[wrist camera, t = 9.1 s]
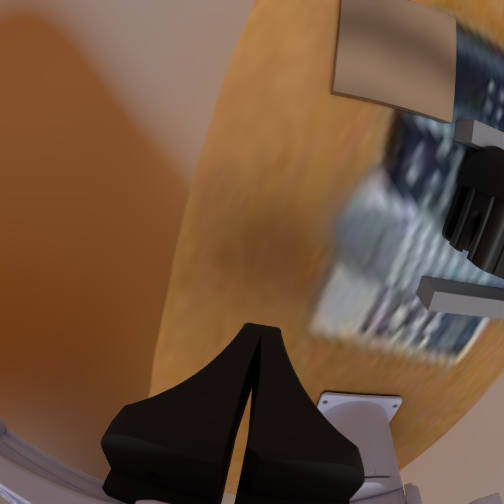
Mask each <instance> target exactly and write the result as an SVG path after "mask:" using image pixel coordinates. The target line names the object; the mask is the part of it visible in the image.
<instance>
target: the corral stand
mask: <svg viewBox="0 0 504 504" xmlns="http://www.w3.org/2000/svg"><path fill="white" fill-rule="evenodd" d="M454 141H455V142H458V143H461V144H463V145H466V146H469V147H472V148H474V149H477V150H480V149H482V148H484V147H486V146H497V147H500V148H502V149H503V150H504V133H503V132H501V131H499V130H496V129H494V128H492V127H490V126H487V125H485V124H483V123H480V122H478V121H476V120H460V121H456V129H455V137H454ZM417 295H418V297H419V298H420V300H421V301H422V303H423V304H424V306H425V307H426V309H427V310H428V311H435V312H443V313H452V314H462V315H471V316H481V317H491V318H501V319H504V289H499V288H493V287H487V286H481V285H475V284H469V283H463V282H457V281H451V280H444V279H438V278H432V277H426V276H423V277H422V280H421V283H420V286H419V289H418V292H417Z"/></svg>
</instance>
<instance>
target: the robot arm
mask: <svg viewBox="0 0 504 504" xmlns="http://www.w3.org/2000/svg"><path fill="white" fill-rule="evenodd" d="M251 389H252V396H251V408H250V420H249V432H248V439H247V445H246V450H245V455H244V460H243V465H242V470H241V475H240V480H239V484H238V489H237V494H236V499H235V503H234V504H422V502H421V497H420V492H419V489H418V487H417V486H415V485H412V483H408V484H406V485H404V487H405V493H406V495H405V496H404V490H403V486H402V481H401V477H400V475H399V469H398V464H397V459H396V454H395V449H394V444H393V439H392V434H391V430H390V425H389V423H390V421H391V420H392V418H393V416H394V415H395V413H396V411H397V410H398V408H399V406H400V405H401V403H402V398H401V397H395V396H371V395H355V394H342V393H331V392H325V393H323V394H322V395H321V397H320V400H319V402H318V405H317V407H316V406H315V404H314V403H313V401H312V400H311V399H310V397H309V396H308V394H307V393H306V391H305V389H304V388H303V386H302V384H301V383H300V381H299V379H298V377H297V375H296V373H295V371H294V369H293V367H292V364H291V362H290V360H289V357H288V355H287V352H286V349H285V346H284V342H283V339H282V334H281V330H280V328H277V327H271V326H265V325H259V324H253V323H246V324H244V326H243V327H242V329H241V330H240V332H239V333H238V334H237V336H236V337H235V338H234V339H233V340H232V342H231V343H230V344H229V345H228V346H227V347H226V348H225V349H224V350H223V351H222V352H221V353H220V354H219V355H218V356H217V357H216V358H215V359H214V360H212V361H211V362H210V363H209V364H208V365H207V366H205V367H204V368H203V369H201V370H200V371H199V372H197V373H196V374H195V375H193V376H192V377H190V378H188V379H187V380H185V381H184V382H182V383H180V384H179V385H177V386H175V387H173V388H171V389H169V390H167V391H165V392H162V393H160V394H158V395H156V396H153V397H151V398H148V399H145V400H142V401H139V402H136V403H133V404H129V405H126V406H124V407H123V408H122V410H121V411H120V412H119V413H118V414H117V416H116V417H115V418H114V419H113V421H112V422H111V424H110V425H109V427H108V429H107V430H106V432H105V434H104V436H103V437H102V440H101V446H102V449H103V452H104V454H105V456H106V458H107V460H108V463H109V465H110V467H111V471H110V472H109V474H108V476H107V478H106V480H105V482H103V481H101V480H98V479H96V478H94V477H91V476H89V475H87V474H85V473H83V472H81V471H79V470H77V469H75V468H73V467H71V466H69V465H67V464H65V463H63V462H61V461H59V460H57V459H56V458H54V457H52V456H50V455H48V454H47V453H45V452H43V451H42V450H40V449H38V448H36V447H35V446H33V445H32V444H30V443H28V442H27V441H25V440H24V439H22V438H21V437H19V436H17V435H16V434H14V433H13V432H12V431H10V430H8V429H7V427H6V425H5V423H4V422H3V420H2V419H1V417H0V495H1V496H2V497H4V498H5V499H6V500H7V501H9V502H10V503H11V504H221V502H222V498H223V493H224V489H225V485H226V480H227V476H228V471H229V467H230V462H231V458H232V453H233V449H234V444H235V439H236V436H237V432H238V429H239V426H240V423H241V420H242V417H243V414H244V410H245V407H246V404H247V401H248V398H249V395H250V392H251ZM324 400H327V401H324ZM405 498H406V502H405ZM469 504H502V501H501V498H500V495H499V493H495V494H493V495H489V496H486V497H483V498H480V499H477V500H475V501H473V502H471V503H469Z"/></svg>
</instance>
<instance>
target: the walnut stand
mask: <svg viewBox="0 0 504 504" xmlns="http://www.w3.org/2000/svg"><path fill="white" fill-rule="evenodd" d="M455 76H456V18H454V17H451V16H449V15H446V14H444V13H442V12H439V11H436V10H434V9H431V8H429V7H426V6H423V5H420V4H417V3H415V2H412V1H409V0H340V9H339V21H338V33H337V44H336V54H335V64H334V73H333V82H332V91H331V94H334V95H339V96H344V97H349V98H354V99H359V100H363V101H367V102H372V103H376V104H380V105H384V106H388V107H392V108H395V109H399V110H403V111H406V112H410V113H413V114H417V115H420V116H423V117H426V118H429V119H433V120H436V121H439V122H442V123H452V115H453V105H454V93H455Z"/></svg>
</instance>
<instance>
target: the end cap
mask: <svg viewBox="0 0 504 504" xmlns="http://www.w3.org/2000/svg"><path fill="white" fill-rule="evenodd" d="M458 183H459V184H458V186H457V190H456V193H455V196H454V199H453V202H452V205H451V207H450V210H449V213H448V216H447V219H446V221H445V224H444V227H443V230H442V234H443V237H444V238H445V239H447V240H448V241H450V243H449V244H450V245H451V246H453V247H454V248H455V249H456V250H458V251H460V252H462V251H463V249H464V250H466V251H468V252H469V253H468V255H467V259H468V260H470V261H471V262H472V263H473V264H474V265H476V266H477V267H478V268H480V269H482V270H483V271H485V272H488V273H490V274H493V275H495V276H497V277H500V278H502V279H504V150H503V149H502V148H500V147H497V146H486V147H484V148H482V149H480V150H479V151H477V152H476V153H475V154H474V155H473V156H472V157H471V159H470V160H469V161H468V163H467V165H466V166H465V168H464V170H463V172H462V174H461V177H460V179H459V182H458Z"/></svg>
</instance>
